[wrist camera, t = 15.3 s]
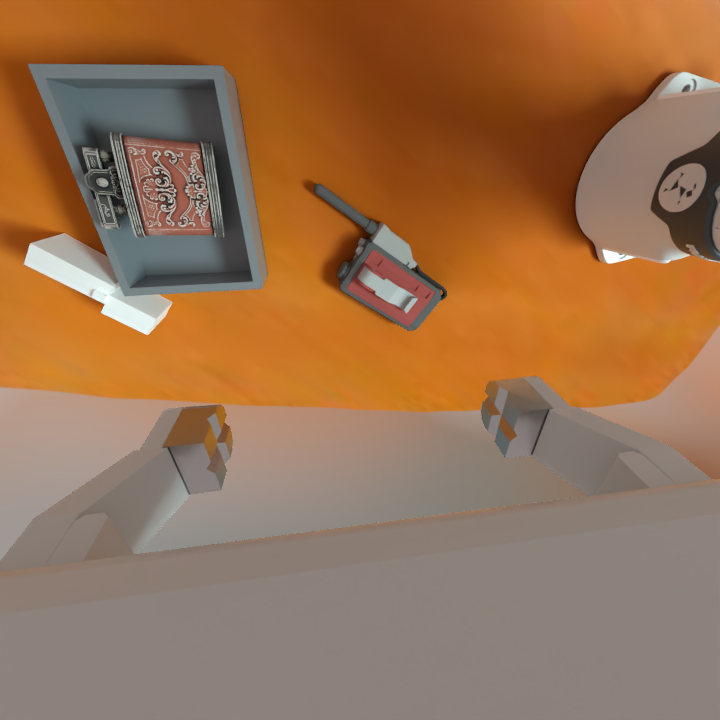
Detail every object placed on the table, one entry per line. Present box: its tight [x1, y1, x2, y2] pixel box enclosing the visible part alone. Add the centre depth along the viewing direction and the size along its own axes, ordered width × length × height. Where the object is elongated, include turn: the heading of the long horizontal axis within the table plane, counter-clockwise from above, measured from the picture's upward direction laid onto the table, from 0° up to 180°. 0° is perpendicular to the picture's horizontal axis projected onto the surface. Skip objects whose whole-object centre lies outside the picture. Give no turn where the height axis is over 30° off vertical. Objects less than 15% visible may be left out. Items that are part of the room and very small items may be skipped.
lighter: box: [82, 132, 224, 237], centre depth 29 cm, size 8×3×10 cm
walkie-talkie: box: [314, 184, 447, 331], centre depth 38 cm, size 9×4×20 cm
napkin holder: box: [24, 233, 172, 335], centre depth 35 cm, size 15×11×6 cm
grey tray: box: [28, 64, 268, 296], centre depth 31 cm, size 14×18×5 cm
